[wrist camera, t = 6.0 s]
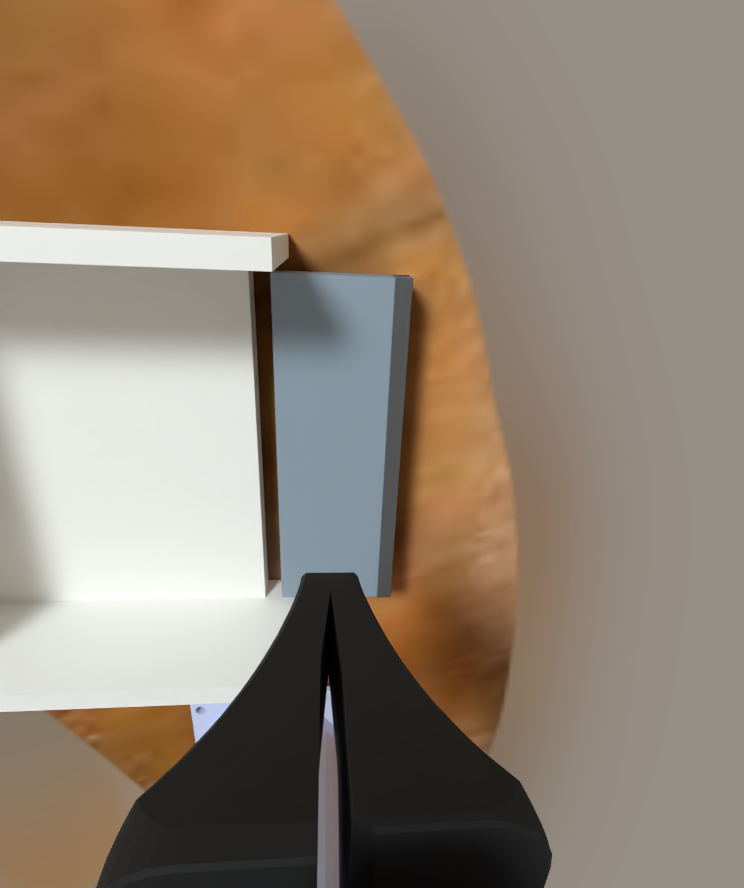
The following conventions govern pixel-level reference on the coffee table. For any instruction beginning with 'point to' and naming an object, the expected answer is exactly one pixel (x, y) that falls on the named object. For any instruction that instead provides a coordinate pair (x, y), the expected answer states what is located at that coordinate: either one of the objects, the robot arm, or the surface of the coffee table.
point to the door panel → (339, 421)
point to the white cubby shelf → (131, 466)
